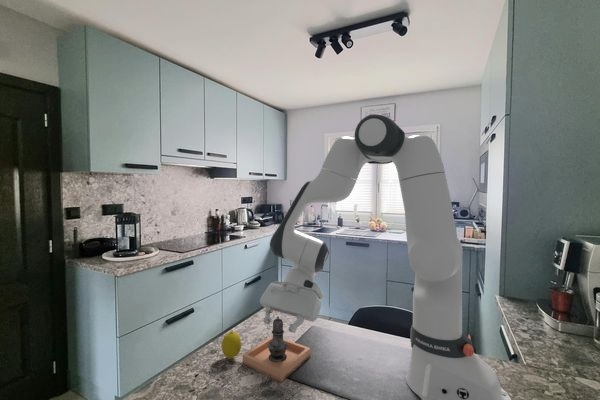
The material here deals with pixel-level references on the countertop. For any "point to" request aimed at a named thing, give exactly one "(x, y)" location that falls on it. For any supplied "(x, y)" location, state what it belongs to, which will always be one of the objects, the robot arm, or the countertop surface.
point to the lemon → (231, 344)
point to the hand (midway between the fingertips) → (278, 327)
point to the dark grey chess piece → (277, 342)
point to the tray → (277, 371)
